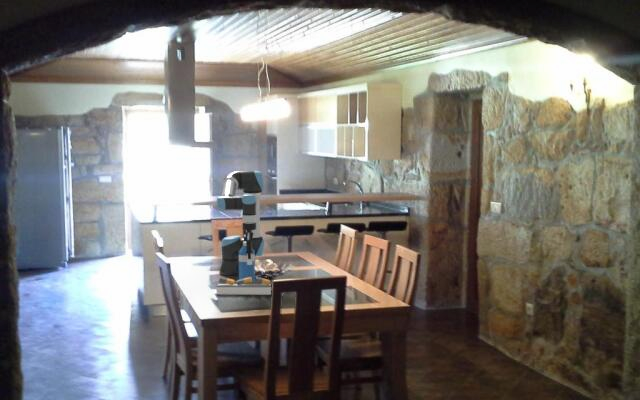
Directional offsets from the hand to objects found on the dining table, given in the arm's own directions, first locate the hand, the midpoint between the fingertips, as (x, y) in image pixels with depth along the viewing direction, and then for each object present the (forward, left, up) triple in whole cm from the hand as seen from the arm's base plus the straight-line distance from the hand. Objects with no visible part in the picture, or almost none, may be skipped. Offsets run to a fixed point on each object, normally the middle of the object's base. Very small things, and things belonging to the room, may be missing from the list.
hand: (249, 264), depth 383 cm
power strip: (0, -3, -16) cm, 16 cm away
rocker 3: (0, +7, -10) cm, 12 cm away
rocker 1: (0, -13, -10) cm, 16 cm away
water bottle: (-20, -4, -16) cm, 26 cm away
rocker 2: (0, -3, -10) cm, 10 cm away
